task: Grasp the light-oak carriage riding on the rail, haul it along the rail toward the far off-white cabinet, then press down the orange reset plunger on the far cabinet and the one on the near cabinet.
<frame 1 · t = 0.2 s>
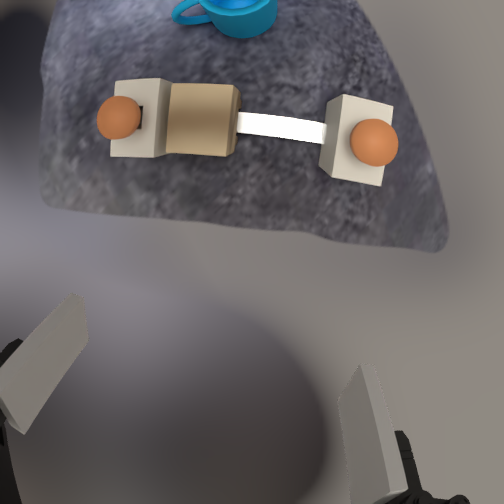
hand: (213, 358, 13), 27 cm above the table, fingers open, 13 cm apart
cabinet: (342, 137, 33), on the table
rail: (252, 123, 33), on the table
carriage: (207, 119, 30), point 4 cm above the table, slide at 0.0 cm
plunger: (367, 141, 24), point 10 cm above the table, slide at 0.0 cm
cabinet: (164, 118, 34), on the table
mug: (228, 15, 28), on the table
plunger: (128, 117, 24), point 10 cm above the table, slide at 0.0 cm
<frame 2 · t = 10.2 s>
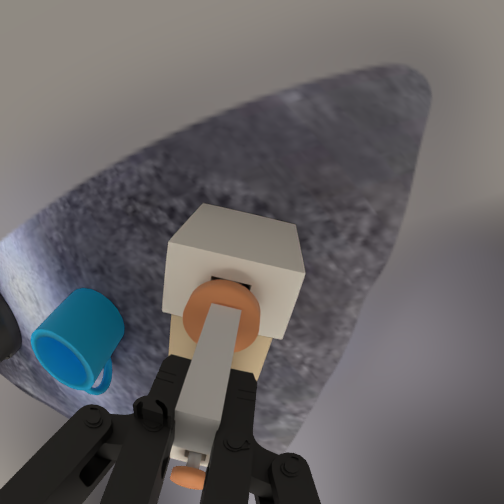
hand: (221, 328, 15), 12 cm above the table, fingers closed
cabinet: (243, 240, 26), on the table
carriage: (223, 325, 25), point 4 cm above the table, slide at 9.4 cm
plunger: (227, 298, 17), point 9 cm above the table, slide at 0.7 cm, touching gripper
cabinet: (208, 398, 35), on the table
mug: (101, 329, 32), on the table
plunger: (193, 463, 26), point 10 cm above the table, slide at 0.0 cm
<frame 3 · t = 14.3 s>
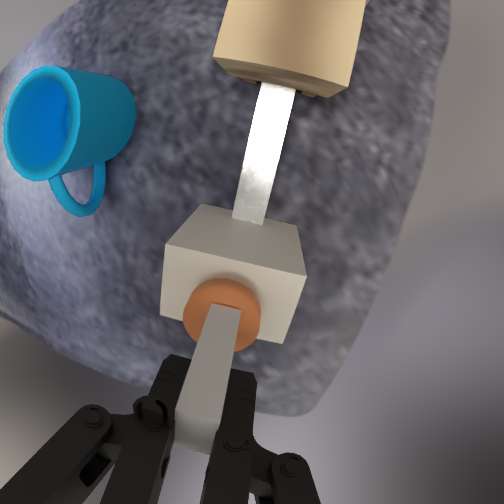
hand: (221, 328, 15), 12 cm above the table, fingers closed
rail: (273, 112, 21), on the table
carriage: (289, 40, 15), point 4 cm above the table, slide at 9.4 cm
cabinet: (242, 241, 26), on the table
mug: (101, 139, 23), on the table
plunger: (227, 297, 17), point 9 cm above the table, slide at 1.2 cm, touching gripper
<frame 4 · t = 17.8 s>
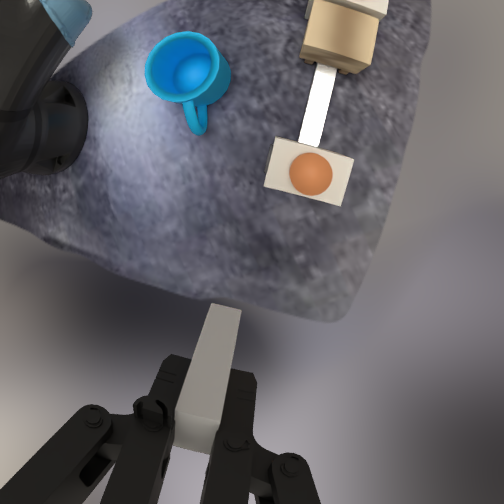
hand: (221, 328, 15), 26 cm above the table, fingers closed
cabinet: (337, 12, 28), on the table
rail: (321, 82, 32), on the table
carriage: (335, 40, 26), point 4 cm above the table, slide at 9.4 cm
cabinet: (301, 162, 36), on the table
mug: (201, 91, 34), on the table
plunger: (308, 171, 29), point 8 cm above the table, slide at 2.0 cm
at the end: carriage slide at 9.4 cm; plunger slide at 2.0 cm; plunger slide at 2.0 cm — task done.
